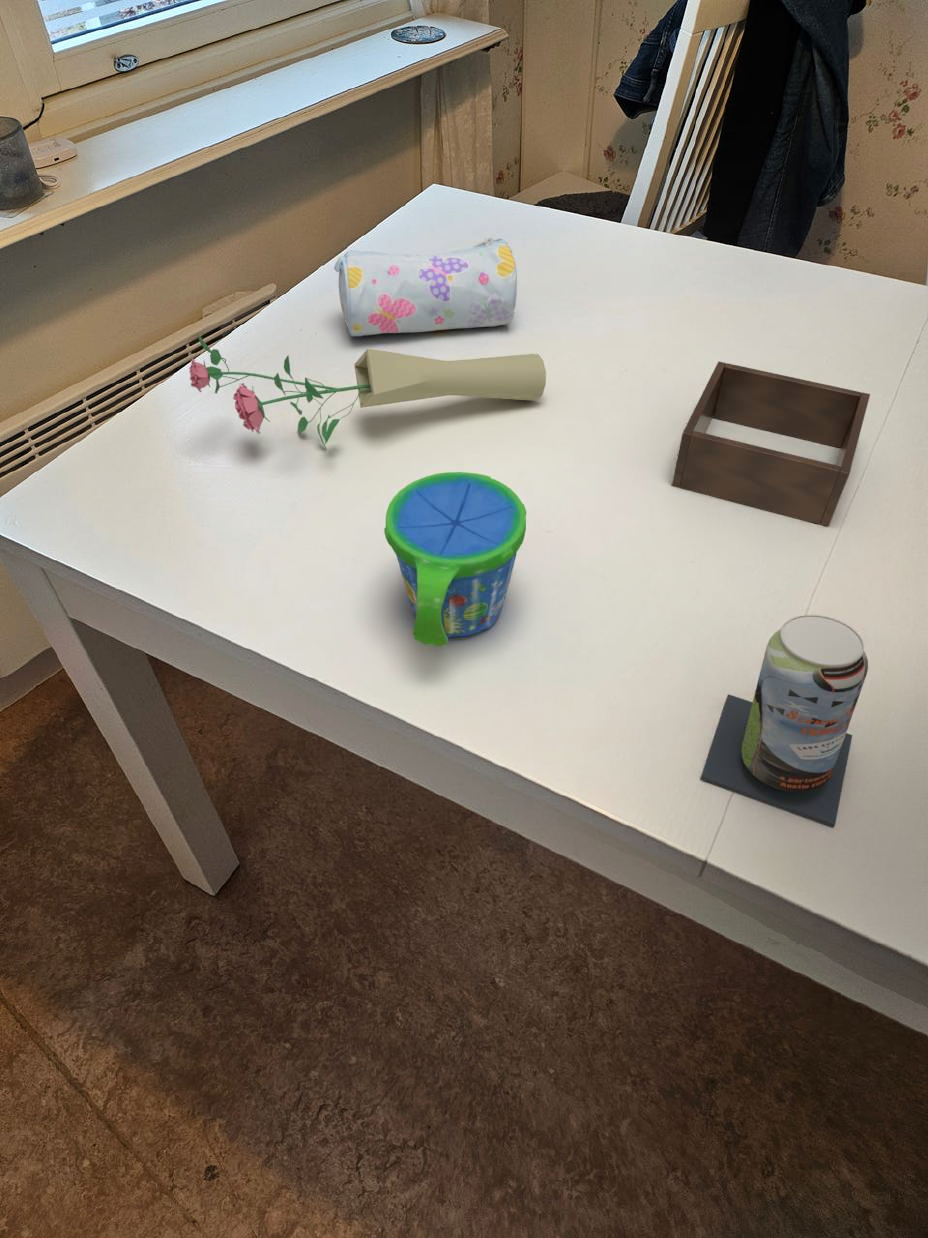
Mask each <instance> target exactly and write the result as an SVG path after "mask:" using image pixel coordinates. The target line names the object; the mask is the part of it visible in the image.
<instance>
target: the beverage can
mask: <svg viewBox="0 0 928 1238" xmlns="http://www.w3.org/2000/svg"><path fill="white" fill-rule="evenodd" d="M763 655H764V656H763V660H762V662H761V668H760V671H759V675H758V680H757V683H756V688H755V692H754V696H753V698H752V699H753V700H752V702H753V703H752V707H751V711H750V715H749V719H748V723H747V727H746V731H745V735H744V739H743V743H742V749H741V753H742V758H743V761H744V763H745V765H746V767H747V768H748V769H749V771H750V772H751V773H752V774H753V775H754V776H755V777H757V778H758V779H759V780H761V781H762V782H764V783H765V784H767V785H769V786H772V787H774V788H777V789H780V790H784V791H789V792H807V791H812V790H815V789H818V788H820V787H821V786H823V785H824V784H825V783H826V782H827V781H828V780H829V779H830V777H831V775H832V772H833V769H834V766H835V763H836V761H837V758H838V755H839V752H840V749H841V746H842V743H843V741H844V738H845V735H846V733H847V731H848V729H849V726H850V723H851V721H852V717H853V714H854V712H855V708H856V706H857V703H858V700H859V698H860V695H861V692H862V689H863V686H864V684H865V681H866V677H867V675H868V671H869V660H868V657H867V653H866V652H865V643H864V640H863V638H862V636H861V635H860V634H859V633H858V631H856V630H855V629H854V628H853V627H851V626H850V625H848V624H847V623H845V622H843V621H841V620H838V619H836V618H834V617H830V616H827V615H820V614H819V615H818V614H802V615H797V616H794V617H792V618H789V619H788V620H786V621H785V622H784V623H783V624H782V626H781V628H780V629H778V630H777V631H776V632H774V634H772V636H771V637H770V638H769V640H768V641H767V644H766V647H765V651H764V654H763Z"/></svg>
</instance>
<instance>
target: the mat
mask: <svg viewBox="0 0 928 1238" xmlns="http://www.w3.org/2000/svg"><path fill="white" fill-rule="evenodd" d="M752 703H753V701H750V700H748V699H744V698H741V697H738V696H735V695H732V694H729V693H728V694H727V697H726V699H725V702H724V706H723V708H722V710H721V711H722V712H721V715H720V718H719V720H718V724H717V726H716V730H715V733H714V736H713V739H712V742H711V744H710V748H709V750H708V754H707V757H706V760H705V764H704V767H703V770H702V773H701V776H700V780H701V781H704V782H706V783H709V784H712V785H715V786H718V787H721V788H723V789H726V790H729V791H731V792H734V793H737V794H739V795H742V796H745V797H748V798H751V799H754V800H756V801H759V802H761V803H765V804H768V805H770V806H773V807H775V808H778V809H781V810H784V811H787V812H790V813H792V814H795V815H797V816H799V817H800V816H801V817H803V818H805V819H809V820H812V821H814V822H816V823H820V824H823V825H825V826H827V827H831V828H834V827H835V825H836V821H837V816H838V810H839V806H840V801H841V795H842V791H843V790H842V789H843V785H844V780H845V776H846V775H845V774H846V771H847V770H846V768H847V765H848V759H849V756H850V755H849V754H850V750H851V749H850V748H851V743H852V740H853V739H852V738H853V735H852V734H851V733H847V732H846V735H845V738H844V741H843V743H842V746H841V749H840V752H839V755H838V758H837V761H836V763H835V766H834V769H833V772H832V775H831V777H830V779H829V780H828V781H827V782H826V783H825V784H824V785H823V786H821V787H820V788H818V789H815V790H812V791H807V792H789V791H784V790H780V789H777V788H774V787H772V786H769V785H767V784H765V783H764V782H762V781H761V780H759V779H758V778H757V777H755V776H754V775H753V774H752V773H751V772H750V771H749V769H748V768H747V767H746V765H745V763H744V761H743V758H742V753H741V749H742V743H743V739H744V735H745V731H746V727H747V723H748V719H749V715H750V711H751V707H752Z"/></svg>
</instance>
